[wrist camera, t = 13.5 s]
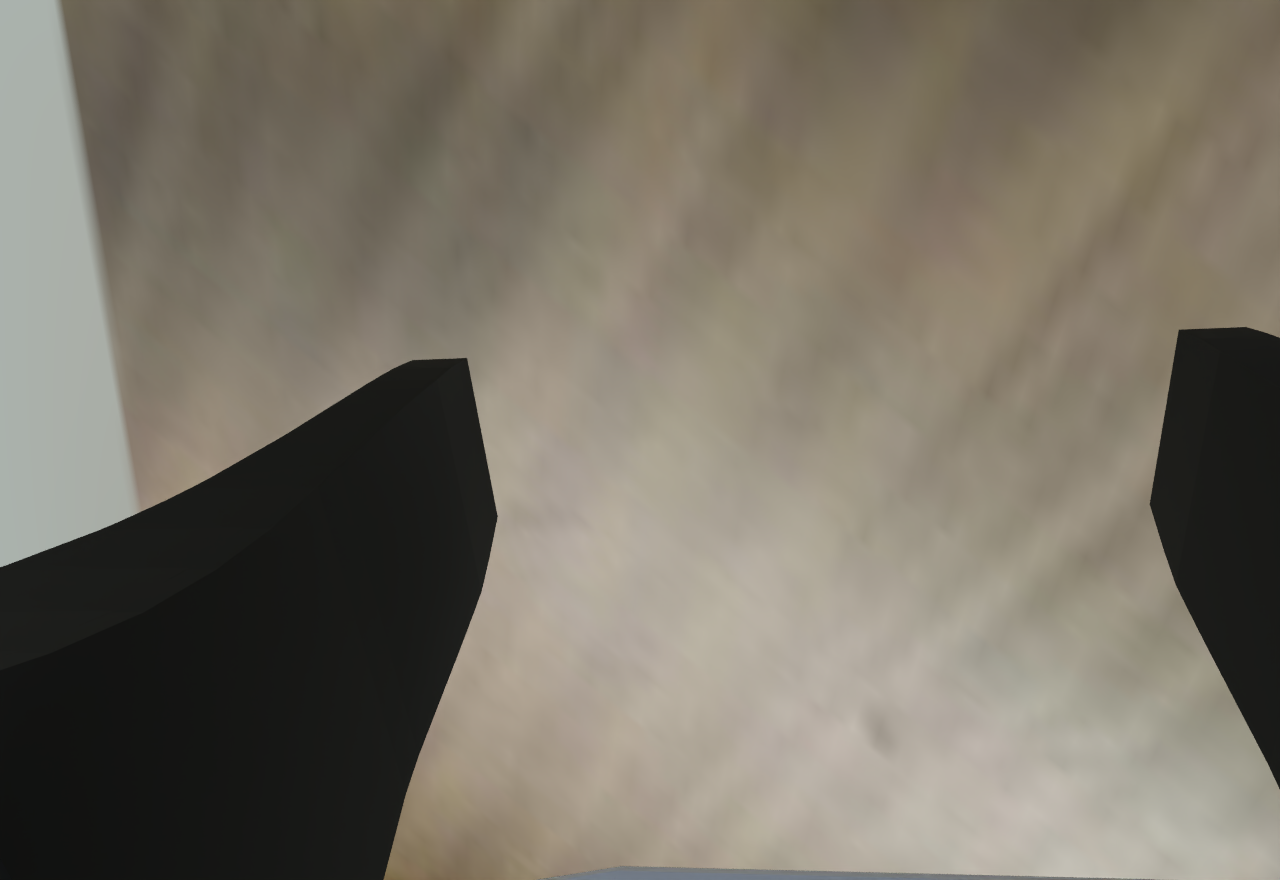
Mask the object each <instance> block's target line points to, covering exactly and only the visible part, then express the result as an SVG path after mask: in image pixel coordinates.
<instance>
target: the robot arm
mask: <svg viewBox="0 0 1280 880" xmlns="http://www.w3.org/2000/svg"><path fill="white" fill-rule="evenodd" d="M1150 506H1151V510H1152V513H1153V516H1154V519H1155V523H1156V526H1157V529H1158V532H1159V536H1160V539H1161V542H1162V546H1163V549H1164V552H1165V555H1166V558H1167V560H1168V563H1169V566H1170V569H1171V572H1172V575H1173V578H1174V581H1175V584H1176V586H1177V588H1178V590H1179V592H1180V594H1181V596H1182V598H1183V600H1184V602H1185V604H1186V606H1187V608H1188V610H1189V612H1190V614H1191V616H1192V618H1193V620H1194V622H1195V624H1196V626H1197V628H1198V630H1199V632H1200V634H1201V636H1202V638H1203V640H1204V642H1205V644H1206V646H1207V648H1208V650H1209V652H1210V654H1211V655H1212V657H1213V659H1214V661H1215V663H1216V665H1217V667H1218V669H1219V671H1220V673H1221V675H1222V677H1223V678H1224V680H1225V682H1226V684H1227V686H1228V688H1229V690H1230V692H1231V694H1232V696H1233V698H1234V700H1235V701H1236V703H1237V705H1238V707H1239V709H1240V711H1241V713H1242V715H1243V717H1244V719H1245V721H1246V723H1247V725H1248V726H1249V728H1250V730H1251V732H1252V734H1253V736H1254V738H1255V740H1256V742H1257V744H1258V746H1259V748H1260V750H1261V751H1262V753H1263V755H1264V757H1265V759H1266V761H1267V763H1268V765H1269V767H1270V769H1271V771H1272V773H1273V776H1274V778H1275V780H1276V782H1277V784H1278V787H1279V789H1280V338H1278V337H1276V336H1273V335H1270V334H1267V333H1264V332H1261V331H1258V330H1254V329H1251V328H1247V327H1237V328H1212V329H1187V330H1179V332H1178V338H1177V344H1176V350H1175V356H1174V362H1173V368H1172V374H1171V380H1170V386H1169V392H1168V398H1167V404H1166V410H1165V416H1164V422H1163V428H1162V434H1161V440H1160V446H1159V452H1158V458H1157V464H1156V470H1155V476H1154V482H1153V488H1152V494H1151V500H1150ZM497 517H498V516H497V511H496V506H495V501H494V496H493V490H492V485H491V480H490V475H489V470H488V465H487V459H486V454H485V449H484V444H483V439H482V433H481V428H480V423H479V418H478V413H477V408H476V402H475V397H474V392H473V387H472V382H471V377H470V371H469V366H468V361H467V358H457V359H432V360H412V361H410V362H407V363H405V364H402V365H400V366H398V367H396V368H394V369H392V370H390V371H389V372H387V373H385V374H383V375H381V376H380V377H378V378H376V379H375V380H373V381H371V382H370V383H368V384H366V385H365V386H363V387H361V388H360V389H358V390H356V391H355V392H353V393H352V394H350V395H348V396H347V397H345V398H344V399H342V400H341V401H339V402H337V403H336V404H334V405H333V406H331V407H329V408H328V409H326V410H324V411H323V412H321V413H320V414H318V415H316V416H315V417H313V418H312V419H310V420H308V421H307V422H305V423H304V424H302V425H300V426H299V427H297V428H296V429H294V430H292V431H291V432H289V433H288V434H286V435H284V436H283V437H281V438H279V439H277V440H276V441H274V442H272V443H270V444H269V445H267V446H265V447H263V448H262V449H260V450H258V451H256V452H255V453H253V454H251V455H250V456H248V457H246V458H244V459H243V460H241V461H239V462H237V463H236V464H234V465H232V466H230V467H229V468H227V469H225V470H223V471H222V472H220V473H218V474H216V475H215V476H213V477H211V478H209V479H207V480H205V481H203V482H202V483H200V484H198V485H196V486H194V487H192V488H190V489H188V490H186V491H184V492H182V493H180V494H178V495H176V496H174V497H172V498H170V499H168V500H166V501H164V502H161V503H159V504H157V505H155V506H153V507H151V508H148V509H146V510H144V511H142V512H140V513H137V514H135V515H133V516H131V517H129V518H127V519H124V520H122V521H120V522H118V523H115V524H113V525H111V526H108V527H106V528H103V529H101V530H99V531H96V532H93V533H91V534H88V535H86V536H83V537H80V538H77V539H75V540H72V541H70V542H67V543H64V544H62V545H59V546H56V547H54V548H51V549H48V550H46V551H43V552H40V553H38V554H35V555H32V556H30V557H27V558H25V559H22V560H19V561H17V562H14V563H11V564H9V565H6V566H3V567H0V880H383V879H384V876H385V872H386V868H387V864H388V860H389V856H390V853H391V849H392V845H393V841H394V837H395V833H396V829H397V826H398V822H399V818H400V814H401V810H402V806H403V803H404V799H405V795H406V792H407V789H408V786H409V783H410V780H411V777H412V774H413V771H414V768H415V765H416V762H417V759H418V756H419V753H420V751H421V748H422V746H423V743H424V740H425V738H426V735H427V733H428V730H429V728H430V725H431V722H432V720H433V717H434V715H435V712H436V710H437V707H438V704H439V702H440V699H441V697H442V694H443V692H444V689H445V686H446V684H447V681H448V679H449V676H450V674H451V671H452V668H453V666H454V663H455V661H456V658H457V656H458V653H459V650H460V648H461V645H462V643H463V640H464V637H465V635H466V632H467V629H468V627H469V624H470V621H471V619H472V616H473V613H474V611H475V608H476V605H477V602H478V600H479V597H480V594H481V591H482V587H483V583H484V579H485V574H486V570H487V566H488V561H489V557H490V552H491V547H492V542H493V537H494V532H495V527H496V522H497ZM539 880H1154V879H1114V878H1074V877H1035V876H995V875H955V874H915V873H875V872H835V871H795V870H755V869H715V868H675V867H635V866H620V867H614V868H607V869H601V870H595V871H589V872H582V873H576V874H570V875H564V876H557V877H551V878H545V879H539Z"/></svg>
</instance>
